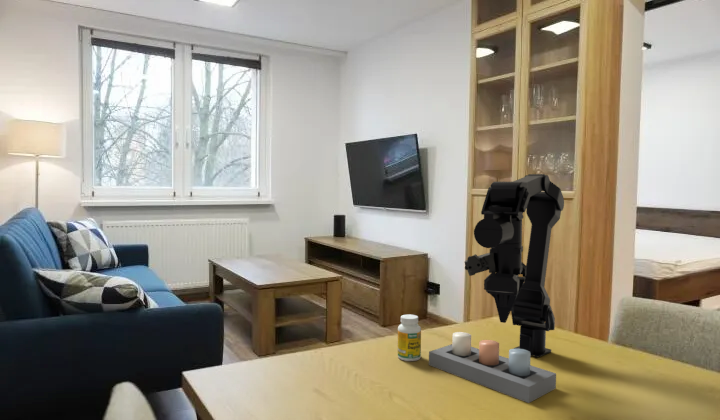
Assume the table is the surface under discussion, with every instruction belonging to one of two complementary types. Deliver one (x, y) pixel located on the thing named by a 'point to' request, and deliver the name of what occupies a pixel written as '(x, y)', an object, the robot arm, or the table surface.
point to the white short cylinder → (461, 344)
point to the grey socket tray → (494, 374)
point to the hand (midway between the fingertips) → (506, 316)
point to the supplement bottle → (409, 338)
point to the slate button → (519, 362)
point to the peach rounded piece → (489, 352)
